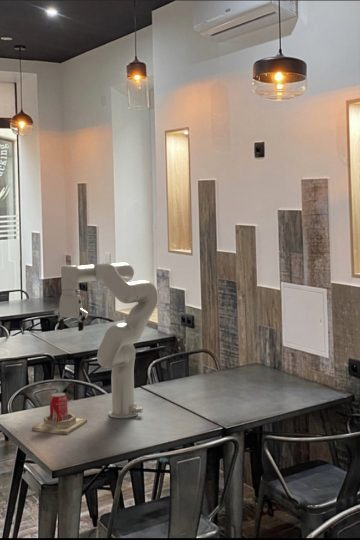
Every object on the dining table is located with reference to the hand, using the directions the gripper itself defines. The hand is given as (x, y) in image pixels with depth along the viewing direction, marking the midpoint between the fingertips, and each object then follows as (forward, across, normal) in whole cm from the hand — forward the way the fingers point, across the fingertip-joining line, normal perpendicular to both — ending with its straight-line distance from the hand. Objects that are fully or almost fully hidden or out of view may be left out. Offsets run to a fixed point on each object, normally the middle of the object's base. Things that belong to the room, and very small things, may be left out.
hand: (71, 329), depth 297 cm
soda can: (+32, -12, +32) cm, 47 cm away
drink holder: (+33, -12, +32) cm, 48 cm away
